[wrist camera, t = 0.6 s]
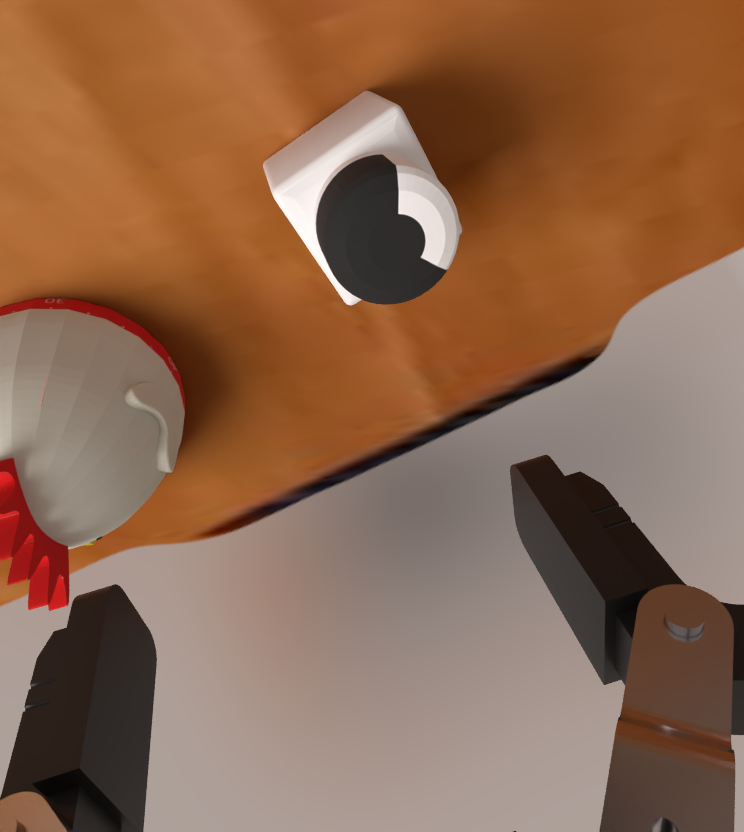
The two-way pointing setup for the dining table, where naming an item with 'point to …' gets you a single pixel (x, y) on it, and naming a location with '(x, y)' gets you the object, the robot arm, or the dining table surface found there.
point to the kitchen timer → (78, 433)
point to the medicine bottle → (367, 202)
